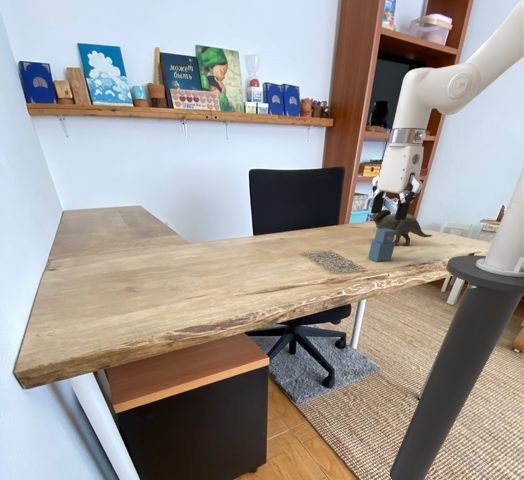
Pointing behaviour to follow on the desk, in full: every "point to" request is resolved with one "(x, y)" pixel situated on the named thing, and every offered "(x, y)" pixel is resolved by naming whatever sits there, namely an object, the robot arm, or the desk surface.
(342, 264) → the rug
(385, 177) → the robot arm
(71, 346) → the desk surface
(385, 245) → the slate gray tower
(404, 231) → the toy dinosaur
